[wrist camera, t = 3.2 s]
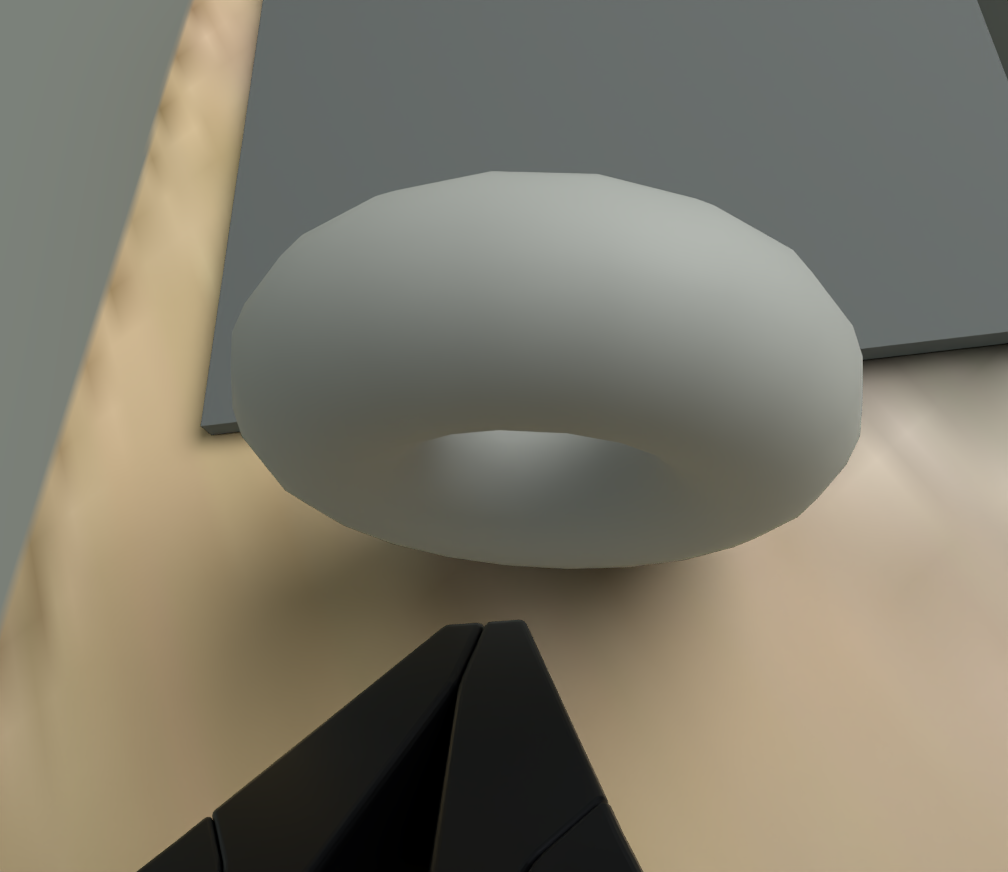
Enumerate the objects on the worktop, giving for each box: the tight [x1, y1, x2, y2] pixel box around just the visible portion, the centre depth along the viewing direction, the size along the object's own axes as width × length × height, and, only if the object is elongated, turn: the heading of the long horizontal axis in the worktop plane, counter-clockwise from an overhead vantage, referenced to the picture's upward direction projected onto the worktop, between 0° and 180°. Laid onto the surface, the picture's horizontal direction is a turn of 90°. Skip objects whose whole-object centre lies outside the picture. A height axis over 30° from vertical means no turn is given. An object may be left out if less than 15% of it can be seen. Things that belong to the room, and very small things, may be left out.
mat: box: [201, 0, 1008, 435], centre depth 24 cm, size 20×20×1 cm
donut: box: [231, 171, 863, 569], centre depth 14 cm, size 10×4×10 cm, turn 86°
